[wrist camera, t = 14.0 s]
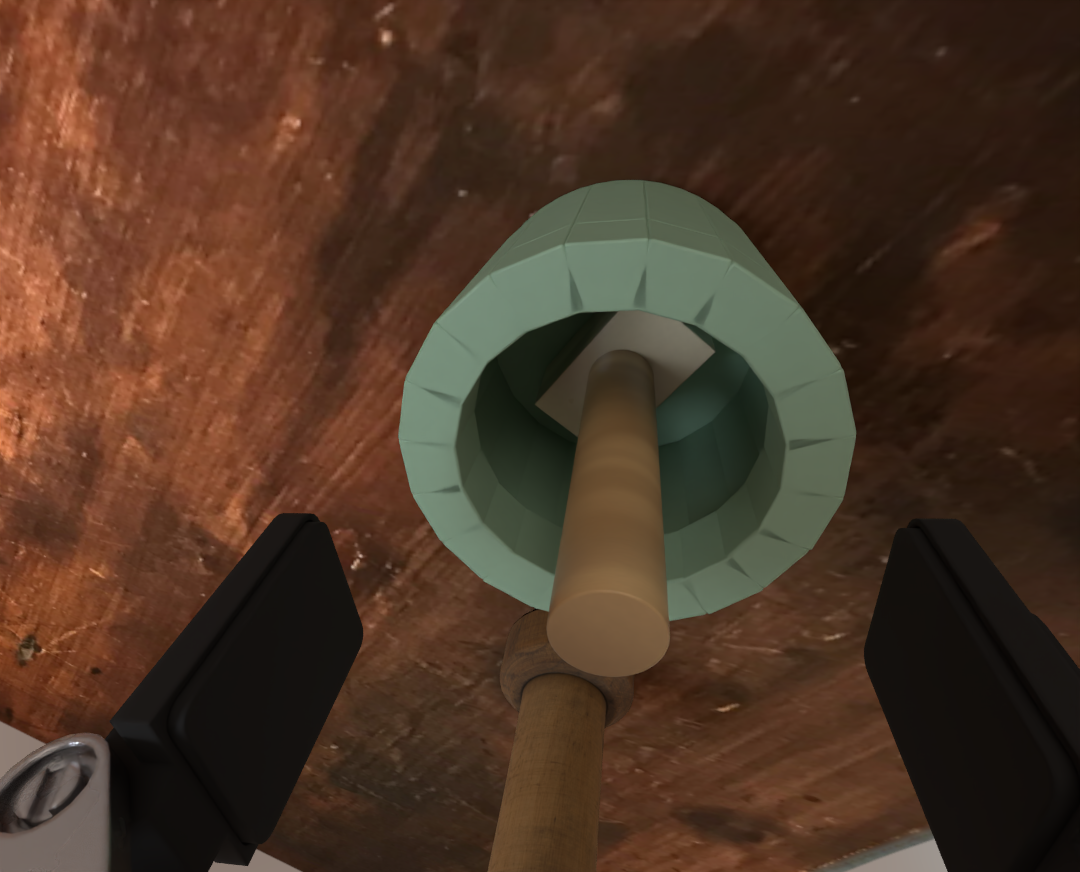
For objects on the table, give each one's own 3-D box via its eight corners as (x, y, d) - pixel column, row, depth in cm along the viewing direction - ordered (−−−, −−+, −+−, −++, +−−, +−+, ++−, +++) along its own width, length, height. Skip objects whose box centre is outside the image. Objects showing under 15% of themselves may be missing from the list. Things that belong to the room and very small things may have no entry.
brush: (639, 260, 19) (644, 493, 8) (706, 318, 20) (795, 607, 9) (545, 367, 22) (449, 661, 10) (608, 416, 22) (580, 742, 11)
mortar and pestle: (481, 636, 30) (322, 1190, 15) (578, 585, 28) (505, 1199, 12) (562, 707, 32) (496, 1262, 17) (660, 667, 30) (687, 1284, 14)
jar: (464, 192, 20) (353, 256, 12) (787, 166, 18) (900, 221, 10) (501, 453, 25) (440, 617, 17) (756, 452, 23) (817, 633, 15)
